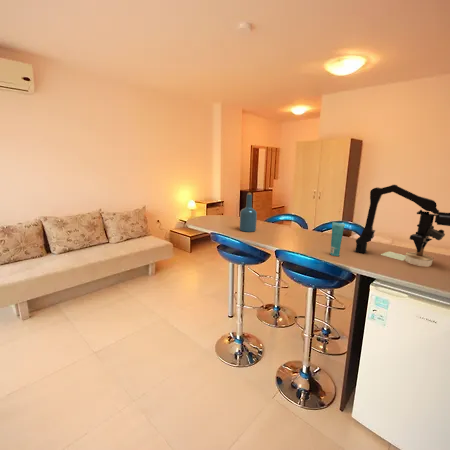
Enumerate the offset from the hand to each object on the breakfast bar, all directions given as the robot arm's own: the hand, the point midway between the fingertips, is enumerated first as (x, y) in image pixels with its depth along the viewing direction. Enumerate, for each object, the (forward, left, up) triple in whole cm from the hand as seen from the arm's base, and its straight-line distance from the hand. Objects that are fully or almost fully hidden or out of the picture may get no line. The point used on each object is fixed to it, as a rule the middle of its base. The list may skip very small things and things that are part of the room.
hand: (420, 251), depth 142 cm
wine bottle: (-32, +106, -7) cm, 111 cm away
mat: (+2, +12, -7) cm, 14 cm away
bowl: (0, 0, -7) cm, 7 cm away
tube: (-27, +33, -7) cm, 43 cm away
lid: (0, 0, -3) cm, 3 cm away
